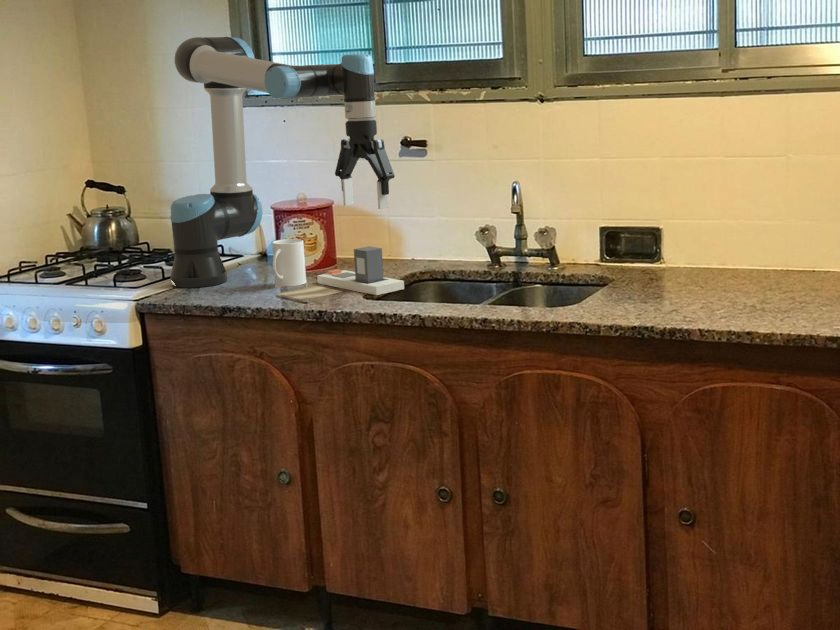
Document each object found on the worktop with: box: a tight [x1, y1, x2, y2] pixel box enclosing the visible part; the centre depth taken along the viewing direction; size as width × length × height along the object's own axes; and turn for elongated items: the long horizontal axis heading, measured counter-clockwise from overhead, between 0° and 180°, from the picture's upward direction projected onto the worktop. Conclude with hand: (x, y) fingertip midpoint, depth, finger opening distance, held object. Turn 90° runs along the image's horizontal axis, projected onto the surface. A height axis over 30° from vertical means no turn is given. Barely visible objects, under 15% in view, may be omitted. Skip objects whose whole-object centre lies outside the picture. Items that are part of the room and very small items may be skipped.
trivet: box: [275, 285, 344, 305], centre depth 258 cm, size 12×12×1 cm
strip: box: [315, 268, 405, 296], centre depth 266 cm, size 30×9×4 cm, turn 42°
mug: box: [271, 238, 308, 289], centre depth 269 cm, size 12×8×12 cm
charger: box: [353, 245, 384, 284], centre depth 260 cm, size 5×5×10 cm
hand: (365, 206), depth 256 cm, fingers open, 13 cm apart
